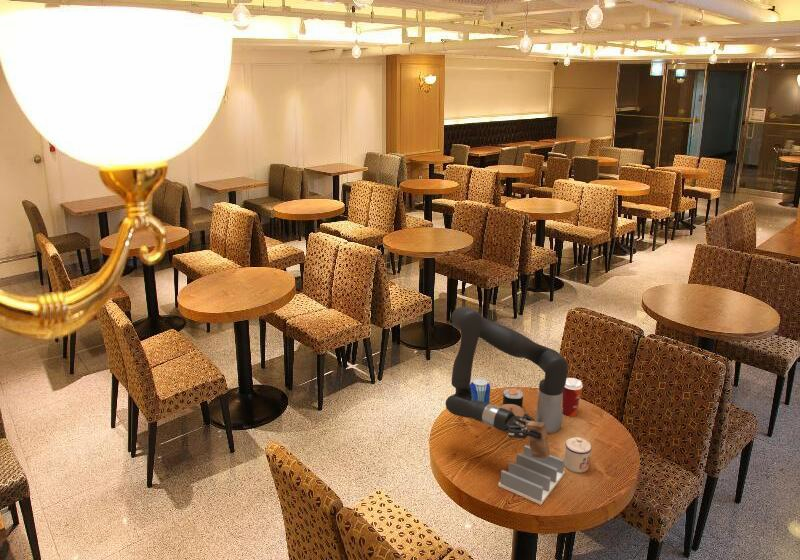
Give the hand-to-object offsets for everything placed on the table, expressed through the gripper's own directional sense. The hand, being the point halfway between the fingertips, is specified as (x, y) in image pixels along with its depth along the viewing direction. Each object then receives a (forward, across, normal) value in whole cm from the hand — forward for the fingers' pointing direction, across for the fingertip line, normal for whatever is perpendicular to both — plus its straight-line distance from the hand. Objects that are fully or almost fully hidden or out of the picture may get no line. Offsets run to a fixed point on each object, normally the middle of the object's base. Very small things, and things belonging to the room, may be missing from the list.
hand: (542, 434), depth 200 cm
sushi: (-30, +39, +20) cm, 53 cm away
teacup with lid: (+7, +19, +20) cm, 28 cm away
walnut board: (0, 0, +9) cm, 9 cm away
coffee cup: (-8, +50, +20) cm, 54 cm away
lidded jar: (-24, +25, +20) cm, 40 cm away
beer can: (-38, +26, +20) cm, 50 cm away
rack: (-2, 0, +20) cm, 20 cm away
